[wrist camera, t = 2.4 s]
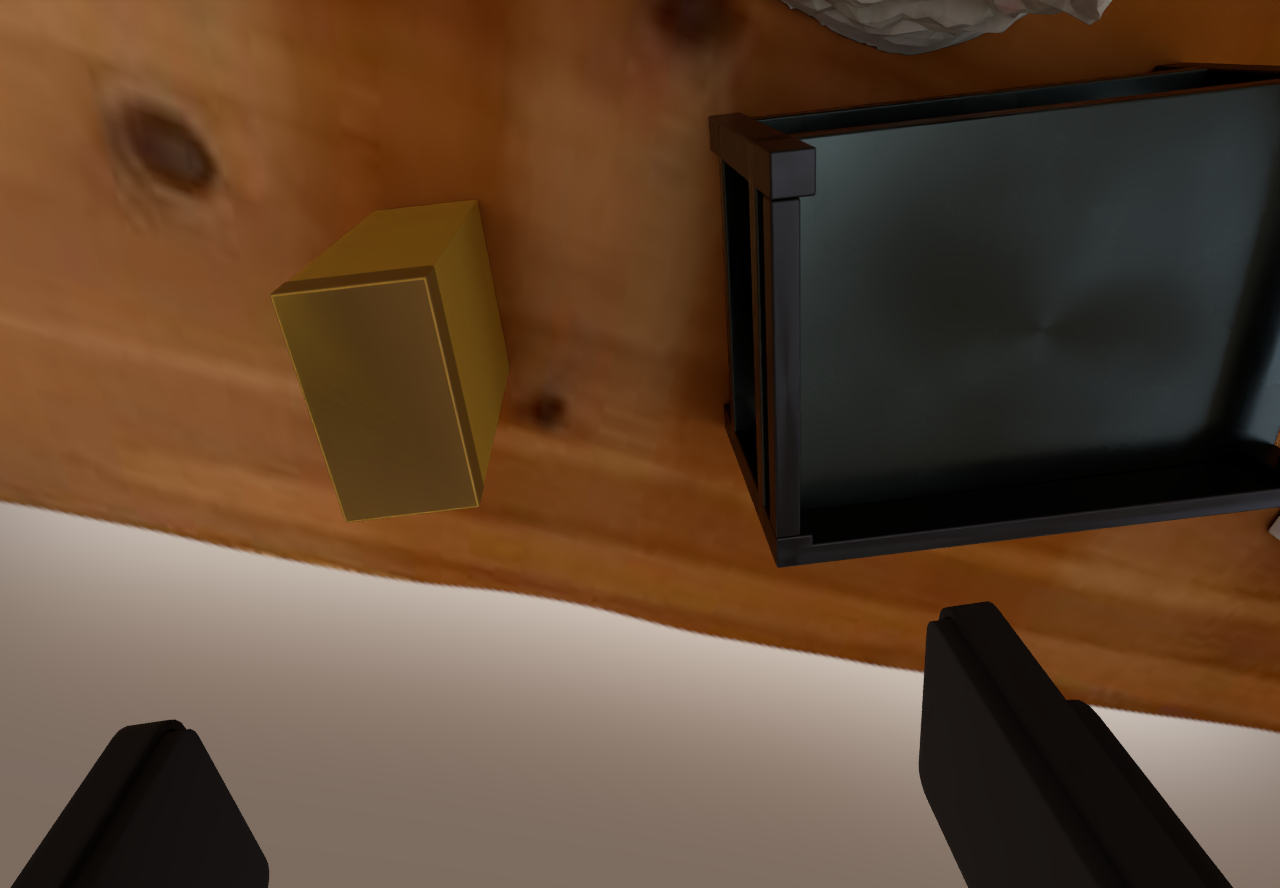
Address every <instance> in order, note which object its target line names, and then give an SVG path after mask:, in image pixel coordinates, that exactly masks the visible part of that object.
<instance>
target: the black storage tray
mask: <svg viewBox="0 0 1280 888" xmlns="http://www.w3.org/2000/svg"><path fill="white" fill-rule="evenodd" d="M709 130H710V149H711V150H712V151H713V152H714V153H715V154H717V155H718V156H719V169H720V191H721V212H722V233H723V254H724V275H725V297H726V318H727V339H728V360H729V381H730V402H731V403H727V404H724V419H725V428H726V431H727V434H728V436H729V439H730V442H731V444H732V447H733V450H734V453H735V455H736V458H737V461H738V463H739V466H740V469H741V471H742V474H743V477H744V480H745V482H746V485H747V488H748V490H749V493H750V496H751V498H752V501H753V504H754V506H755V509H756V512H757V515H758V517H759V520H760V523H761V525H762V528H763V531H764V533H765V536H766V539H767V542H768V544H769V547H770V550H771V552H772V555H773V558H774V560H775V563H776V566H777V567H778V568H780V567H789V566H797V565H805V564H813V563H821V562H829V561H838V560H846V559H854V558H862V557H871V556H879V555H887V554H895V553H904V552H912V551H920V550H929V549H937V548H945V547H953V546H962V545H970V544H978V543H987V542H995V541H1003V540H1011V539H1020V538H1028V537H1036V536H1045V535H1053V534H1061V533H1069V532H1078V531H1086V530H1094V529H1102V528H1111V527H1119V526H1127V525H1136V524H1144V523H1152V522H1160V521H1169V520H1177V519H1185V518H1194V517H1202V516H1210V515H1218V514H1227V513H1235V512H1243V511H1251V510H1260V509H1268V508H1276V507H1280V448H1279V447H1278V446H1276V445H1274V444H1275V441H1276V438H1277V435H1278V432H1279V429H1280V66H1268V65H1240V64H1211V63H1177V64H1168V65H1159V66H1156V67H1155V69H1154V72H1149V73H1140V74H1131V75H1122V76H1113V77H1104V78H1096V79H1087V80H1078V81H1069V82H1060V83H1051V84H1042V85H1034V86H1025V87H1016V88H1007V89H998V90H989V91H980V92H972V93H963V94H954V95H945V96H936V97H927V98H918V99H910V100H901V101H892V102H883V103H874V104H865V105H856V106H848V107H839V108H830V109H821V110H812V111H803V112H794V113H786V114H777V115H768V116H759V117H748V116H745V115H743V114H741V113H733V114H724V115H715V116H710V117H709Z"/></svg>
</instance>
